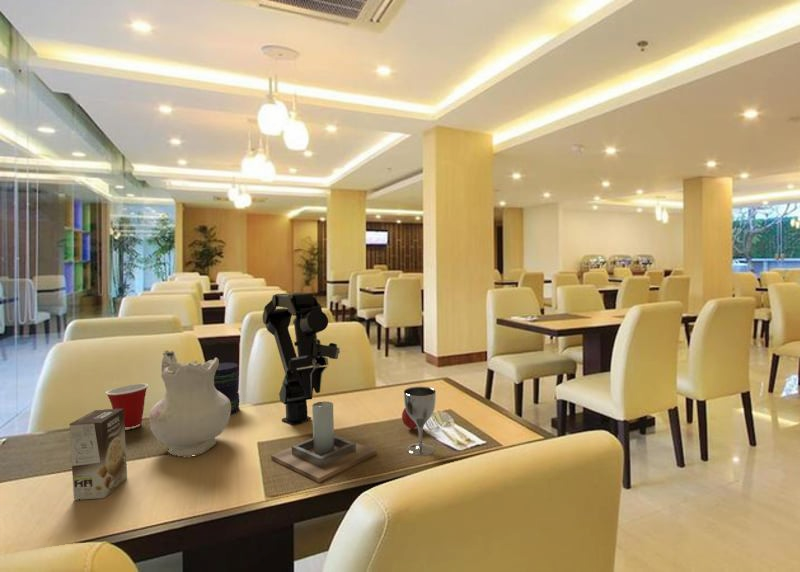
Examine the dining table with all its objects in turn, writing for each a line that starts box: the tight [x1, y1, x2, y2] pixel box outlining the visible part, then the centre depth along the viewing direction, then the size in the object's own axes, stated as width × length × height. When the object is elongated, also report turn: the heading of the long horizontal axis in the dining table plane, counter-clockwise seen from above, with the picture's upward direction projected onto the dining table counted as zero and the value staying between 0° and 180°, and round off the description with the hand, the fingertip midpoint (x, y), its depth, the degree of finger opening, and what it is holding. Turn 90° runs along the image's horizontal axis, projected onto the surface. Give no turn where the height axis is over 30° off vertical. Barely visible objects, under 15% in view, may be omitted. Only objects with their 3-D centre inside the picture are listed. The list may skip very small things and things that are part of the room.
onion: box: [401, 407, 417, 430], centre depth 127 cm, size 6×6×8 cm
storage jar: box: [214, 362, 240, 416], centre depth 144 cm, size 10×10×15 cm
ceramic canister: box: [311, 401, 335, 456], centre depth 110 cm, size 5×5×12 cm
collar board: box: [271, 434, 377, 483], centre depth 111 cm, size 18×18×3 cm
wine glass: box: [403, 386, 437, 457], centre depth 113 cm, size 8×8×15 cm
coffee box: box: [69, 408, 128, 501], centre depth 97 cm, size 9×6×16 cm
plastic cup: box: [105, 383, 149, 427], centre depth 133 cm, size 11×11×12 cm
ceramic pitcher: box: [148, 350, 231, 458], centre depth 117 cm, size 22×20×25 cm
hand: (313, 394), depth 122 cm, fingers open, 9 cm apart
